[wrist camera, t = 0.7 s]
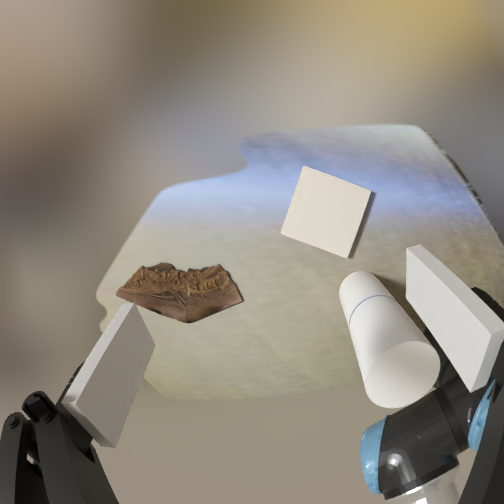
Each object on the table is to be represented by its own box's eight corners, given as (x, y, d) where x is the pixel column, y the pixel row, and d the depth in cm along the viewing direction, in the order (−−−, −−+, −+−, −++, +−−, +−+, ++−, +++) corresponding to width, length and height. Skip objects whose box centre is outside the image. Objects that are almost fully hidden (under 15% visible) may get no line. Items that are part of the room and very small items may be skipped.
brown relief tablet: (243, 264, 49) (241, 266, 48) (244, 326, 51) (243, 329, 50) (113, 260, 53) (110, 261, 52) (120, 313, 55) (117, 315, 54)
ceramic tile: (370, 191, 43) (371, 191, 42) (346, 257, 45) (347, 258, 44) (303, 166, 44) (303, 165, 43) (280, 233, 46) (280, 233, 45)
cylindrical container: (375, 265, 44) (437, 329, 20) (385, 305, 45) (441, 391, 21) (334, 278, 46) (358, 357, 22) (345, 318, 47) (371, 417, 23)
